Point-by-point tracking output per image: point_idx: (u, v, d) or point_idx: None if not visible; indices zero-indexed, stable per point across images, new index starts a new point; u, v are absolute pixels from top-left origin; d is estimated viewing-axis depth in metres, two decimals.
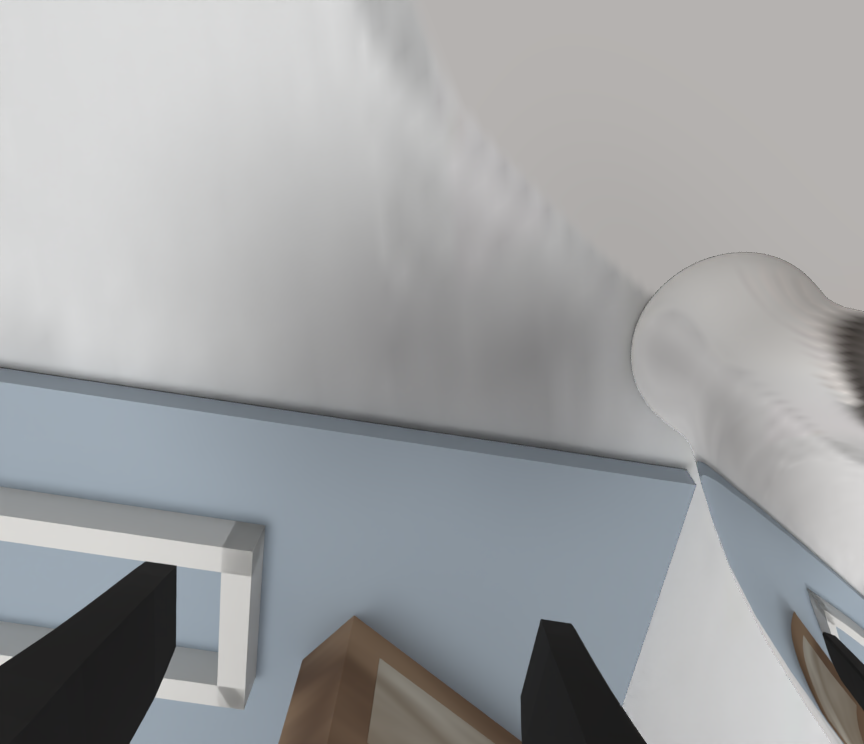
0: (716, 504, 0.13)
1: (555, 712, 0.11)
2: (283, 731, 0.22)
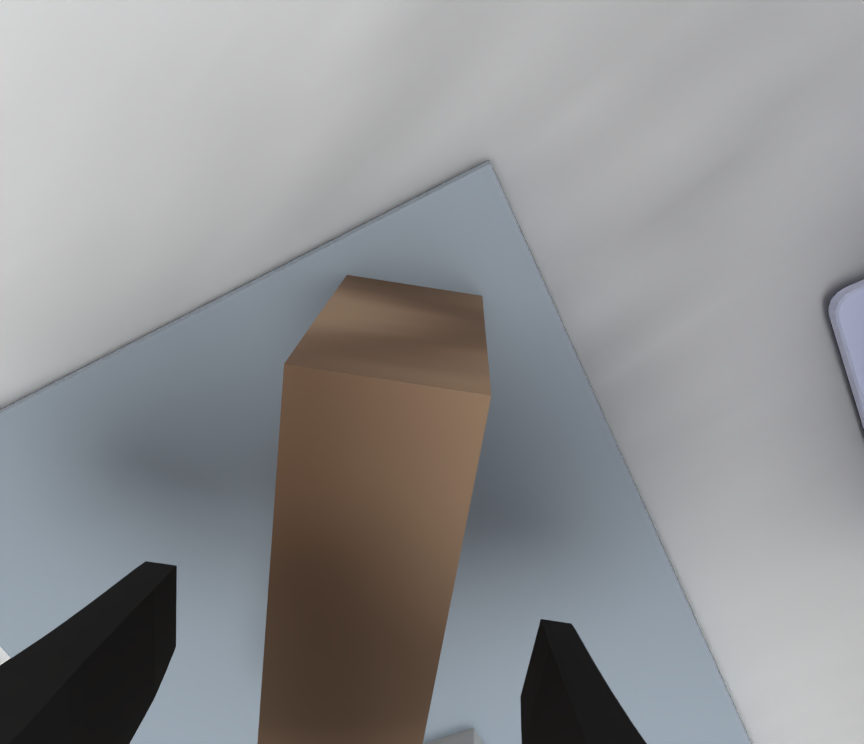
0: None
1: (554, 713, 0.11)
2: None
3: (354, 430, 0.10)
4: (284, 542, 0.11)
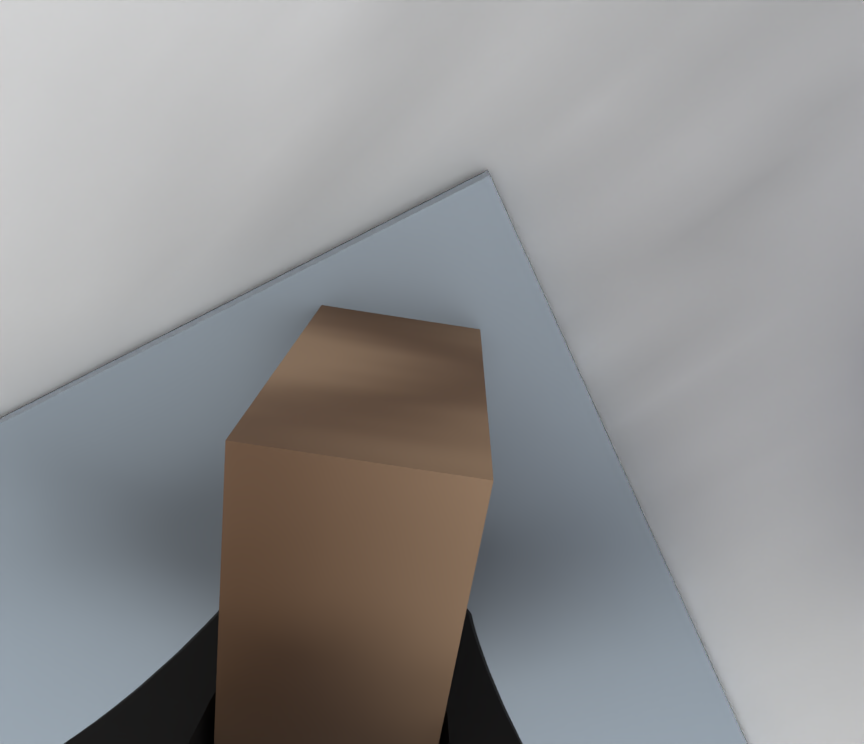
0: None
1: None
2: None
3: (318, 521, 0.08)
4: (233, 654, 0.09)
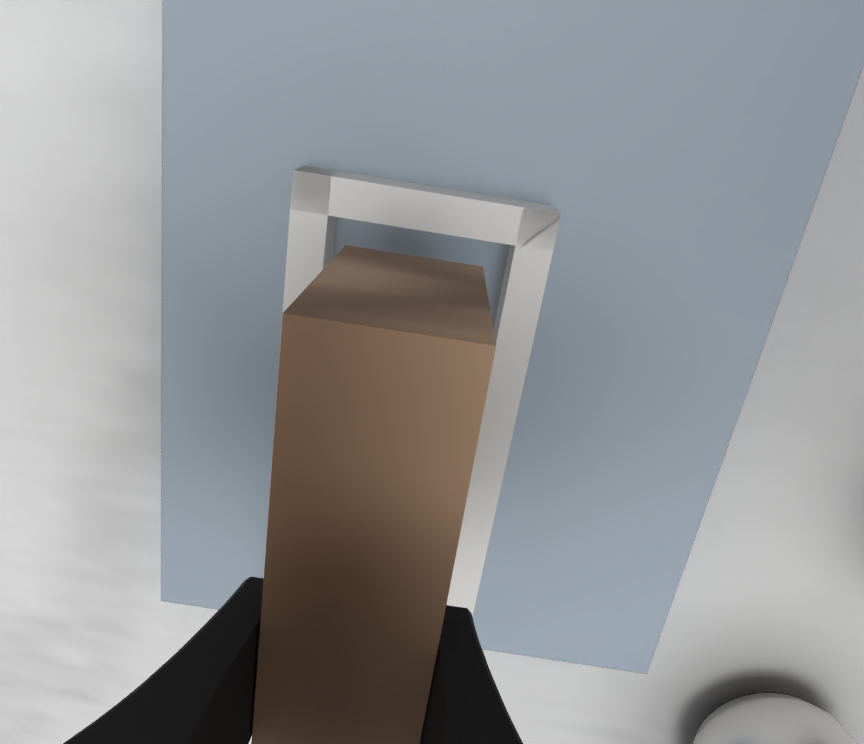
0: None
1: (435, 695, 0.11)
2: None
3: (354, 383, 0.10)
4: (282, 504, 0.10)
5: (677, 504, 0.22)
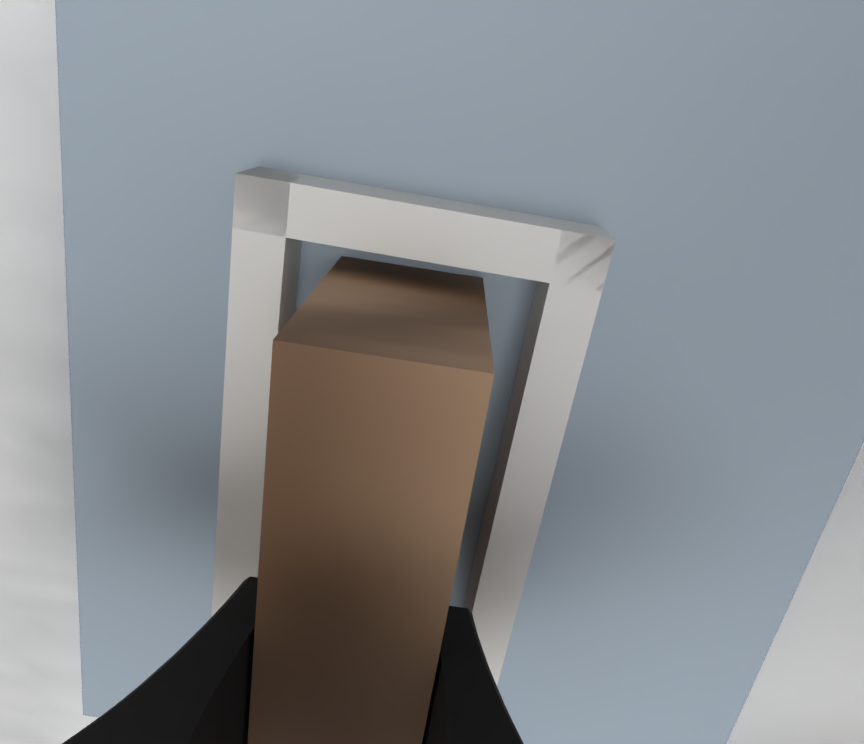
0: None
1: (435, 695, 0.11)
2: None
3: (348, 411, 0.09)
4: (274, 532, 0.10)
5: (746, 612, 0.17)
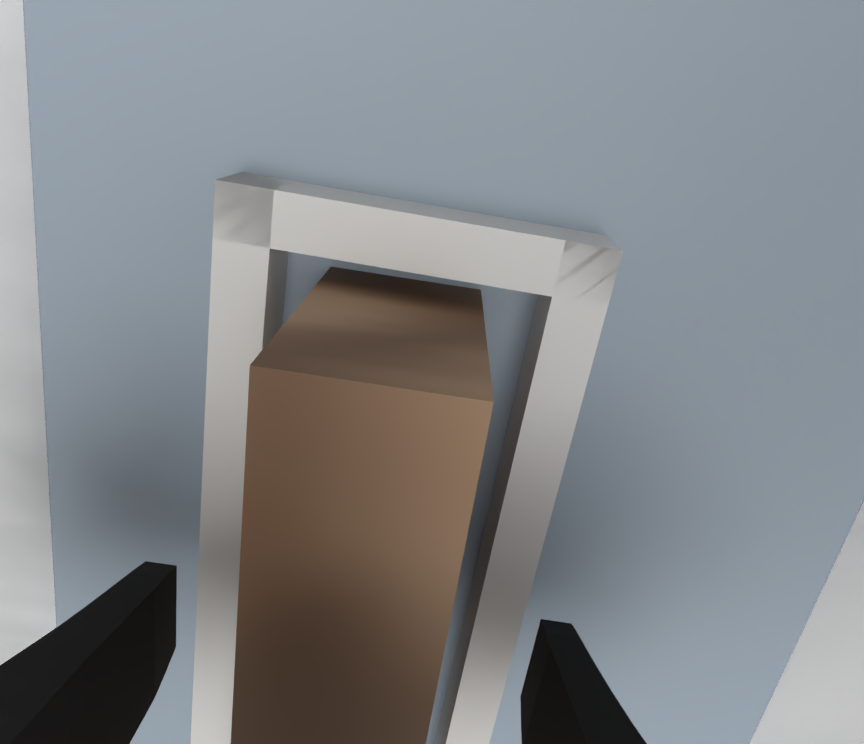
0: None
1: (554, 712, 0.11)
2: None
3: (333, 442, 0.08)
4: (254, 571, 0.09)
5: (758, 638, 0.16)
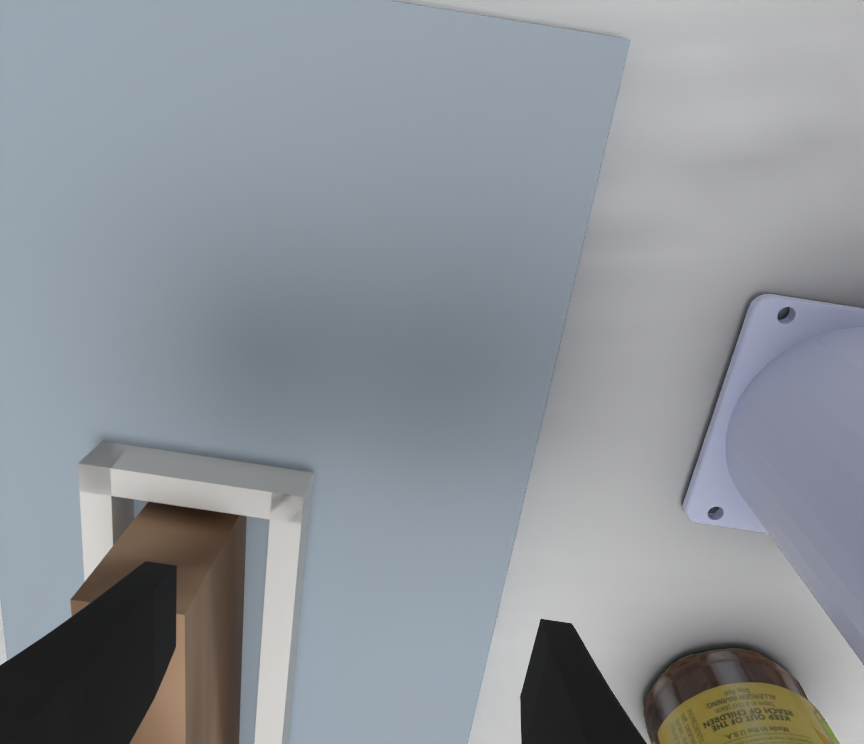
0: None
1: (554, 712, 0.11)
2: None
3: None
4: None
5: (453, 696, 0.25)
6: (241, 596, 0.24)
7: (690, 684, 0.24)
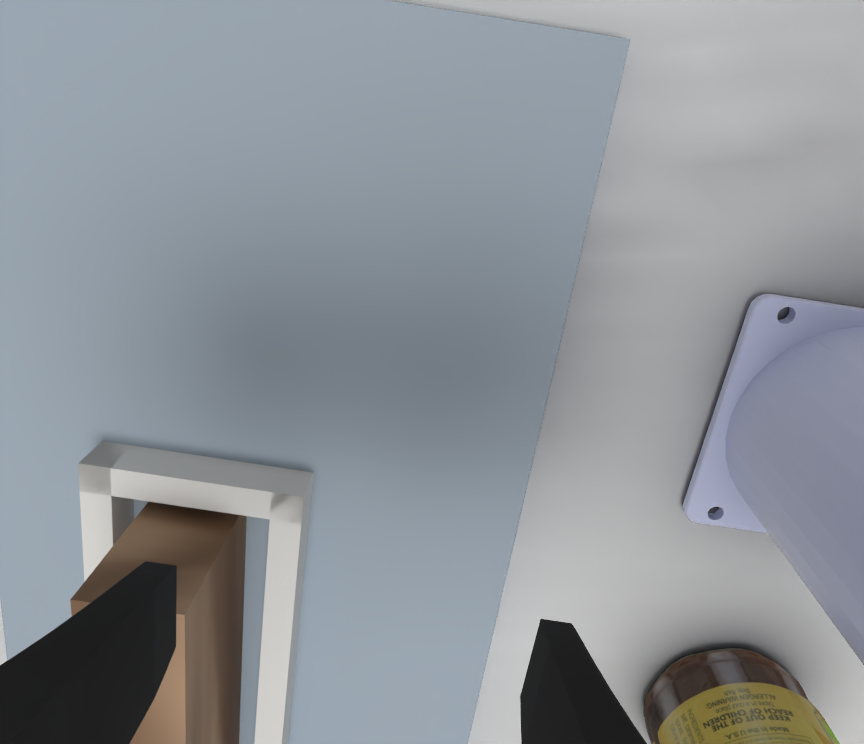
0: None
1: (554, 712, 0.11)
2: None
3: None
4: None
5: (453, 696, 0.25)
6: (241, 596, 0.24)
7: (690, 684, 0.24)
